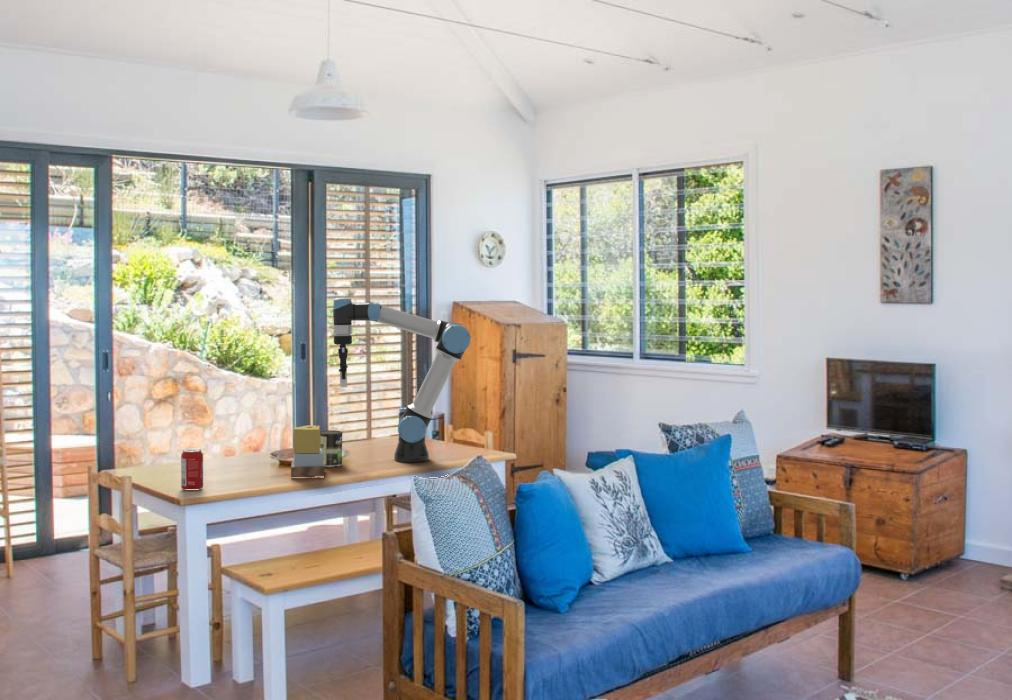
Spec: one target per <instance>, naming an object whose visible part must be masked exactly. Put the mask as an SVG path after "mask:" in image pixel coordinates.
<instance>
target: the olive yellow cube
mask: <svg viewBox="0 0 1012 700" xmlns="http://www.w3.org/2000/svg"><path fill="white" fill-rule="evenodd" d="M320 431H321V426H320V425H314V424H313V425H311V424H309V425H303V426H295V427H294V428H293V435H292V437H293V438H292V447H293V455H294V454H301V453H319V451H320V444H321V436H320Z"/></svg>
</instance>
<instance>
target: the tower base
mask: <svg viewBox="0 0 1012 700" xmlns="http://www.w3.org/2000/svg"><path fill="white" fill-rule="evenodd" d="M325 468H326V467H325V466H324V461H323V466H306V467H295V465H294V460H291V466H290V478H291V477H315V476H324V477H325Z"/></svg>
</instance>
